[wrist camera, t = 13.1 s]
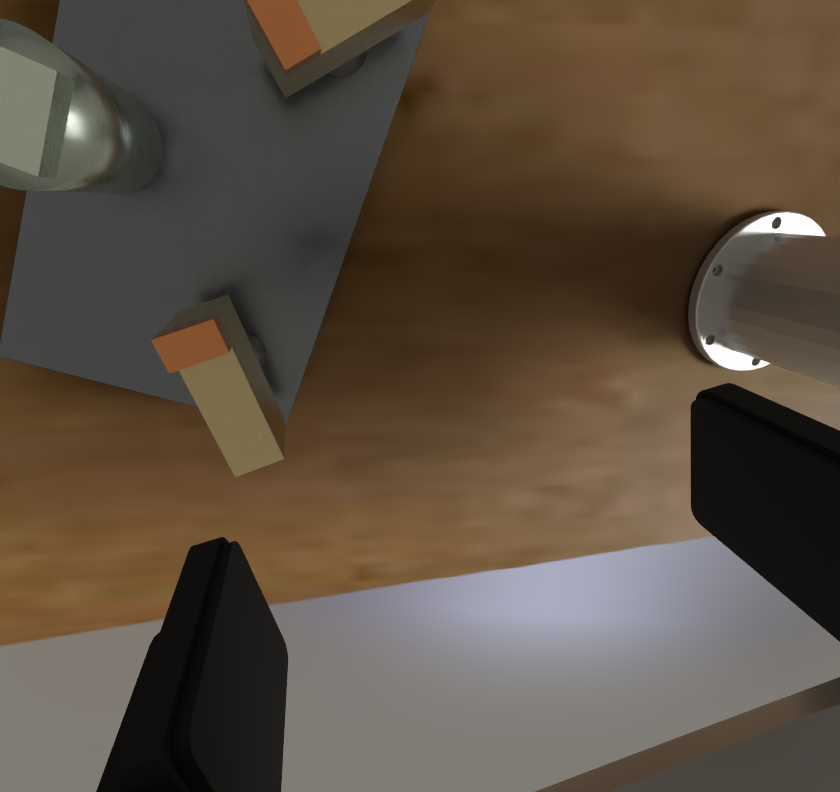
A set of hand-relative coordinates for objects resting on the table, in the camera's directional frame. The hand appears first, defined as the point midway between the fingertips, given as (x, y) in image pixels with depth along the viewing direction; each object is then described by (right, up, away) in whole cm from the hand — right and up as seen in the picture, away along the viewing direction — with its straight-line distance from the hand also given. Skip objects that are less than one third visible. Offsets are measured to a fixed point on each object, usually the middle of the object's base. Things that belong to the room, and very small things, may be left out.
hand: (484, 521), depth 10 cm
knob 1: (-12, +5, +20) cm, 24 cm away
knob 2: (-5, +21, +16) cm, 27 cm away
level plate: (-13, +15, +19) cm, 27 cm away
